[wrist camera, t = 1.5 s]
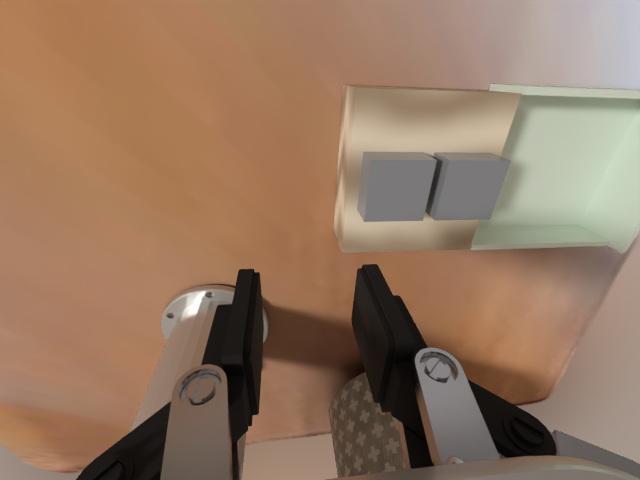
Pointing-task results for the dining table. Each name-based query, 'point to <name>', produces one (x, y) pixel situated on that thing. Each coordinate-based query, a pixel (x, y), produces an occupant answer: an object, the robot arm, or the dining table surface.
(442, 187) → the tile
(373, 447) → the planter
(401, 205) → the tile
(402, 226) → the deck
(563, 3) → the dining table surface
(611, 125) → the tray
